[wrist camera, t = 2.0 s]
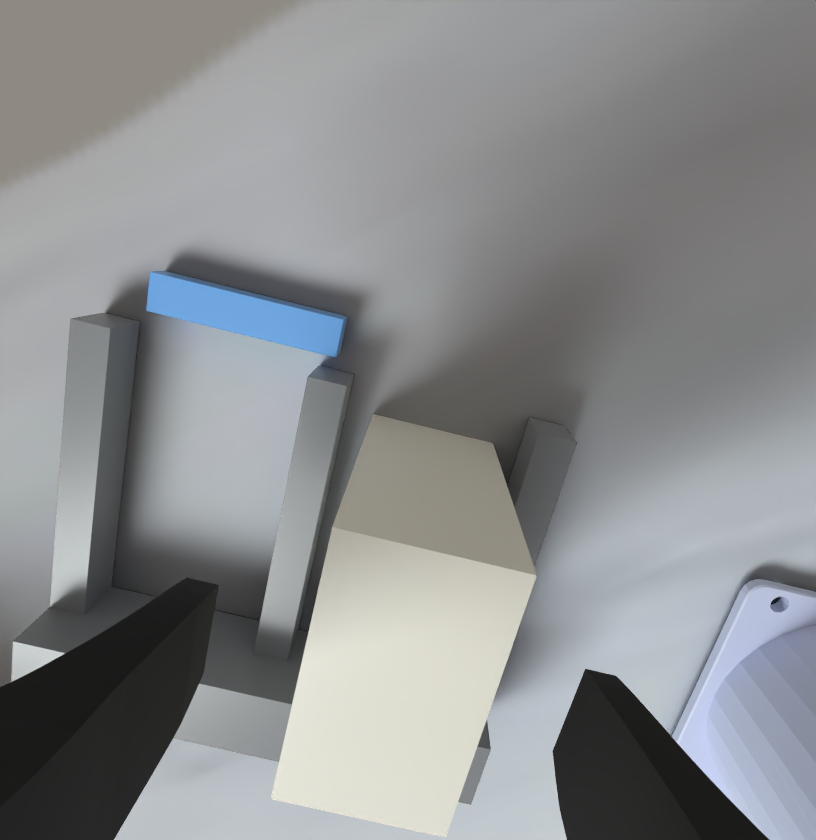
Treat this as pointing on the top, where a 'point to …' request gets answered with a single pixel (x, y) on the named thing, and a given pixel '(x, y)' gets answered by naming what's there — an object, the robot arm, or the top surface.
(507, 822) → the top surface
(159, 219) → the top surface
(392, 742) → the cream rectangular block
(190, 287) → the blue rectangular bar
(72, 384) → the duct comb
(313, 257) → the top surface
